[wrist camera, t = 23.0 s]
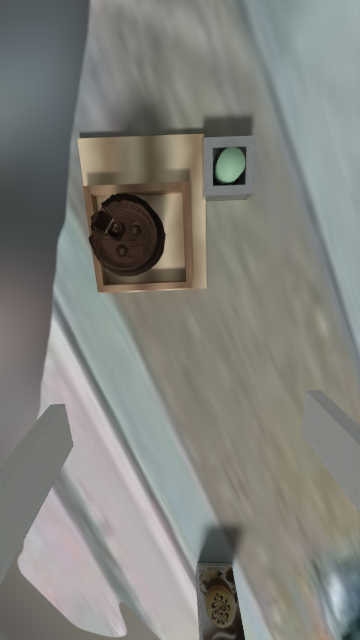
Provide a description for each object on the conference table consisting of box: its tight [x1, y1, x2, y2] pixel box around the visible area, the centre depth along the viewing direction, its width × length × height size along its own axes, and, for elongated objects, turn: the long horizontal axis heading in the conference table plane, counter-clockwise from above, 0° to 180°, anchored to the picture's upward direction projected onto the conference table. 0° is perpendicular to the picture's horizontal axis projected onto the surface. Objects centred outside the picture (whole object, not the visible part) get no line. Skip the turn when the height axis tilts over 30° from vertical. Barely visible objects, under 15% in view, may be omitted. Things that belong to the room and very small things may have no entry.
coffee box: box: [195, 563, 245, 640], centre depth 52 cm, size 9×6×16 cm
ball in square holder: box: [201, 136, 256, 201], centre depth 33 cm, size 7×7×4 cm
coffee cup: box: [89, 193, 166, 276], centre depth 30 cm, size 9×8×13 cm
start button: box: [214, 147, 245, 186], centre depth 32 cm, size 4×4×4 cm
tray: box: [77, 134, 207, 294], centre depth 35 cm, size 18×22×3 cm
